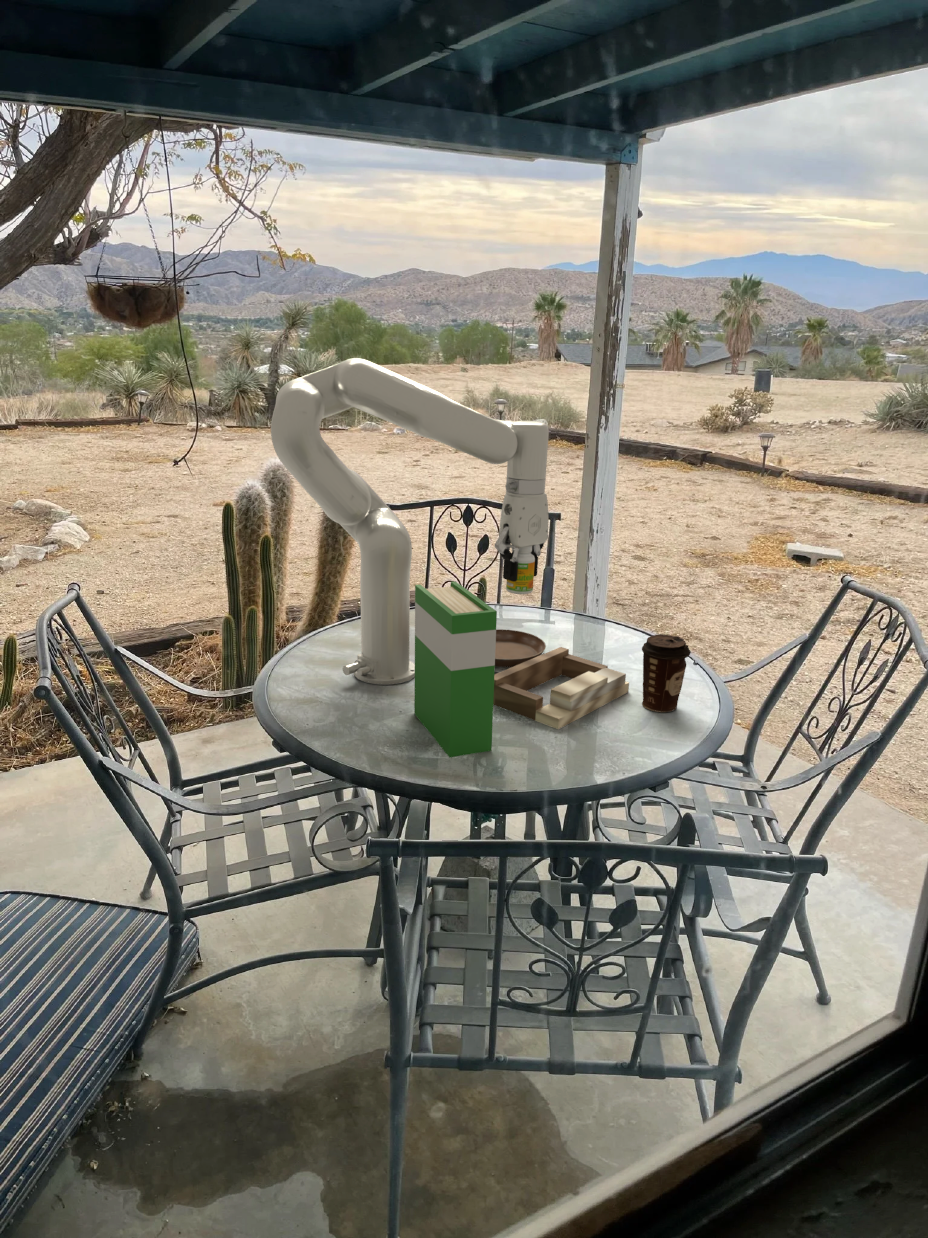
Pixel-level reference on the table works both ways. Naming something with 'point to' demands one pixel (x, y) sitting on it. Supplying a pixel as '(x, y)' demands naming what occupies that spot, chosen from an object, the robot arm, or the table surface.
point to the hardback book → (455, 668)
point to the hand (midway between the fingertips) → (520, 576)
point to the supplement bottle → (523, 572)
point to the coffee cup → (663, 671)
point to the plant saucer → (516, 647)
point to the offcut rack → (558, 687)
